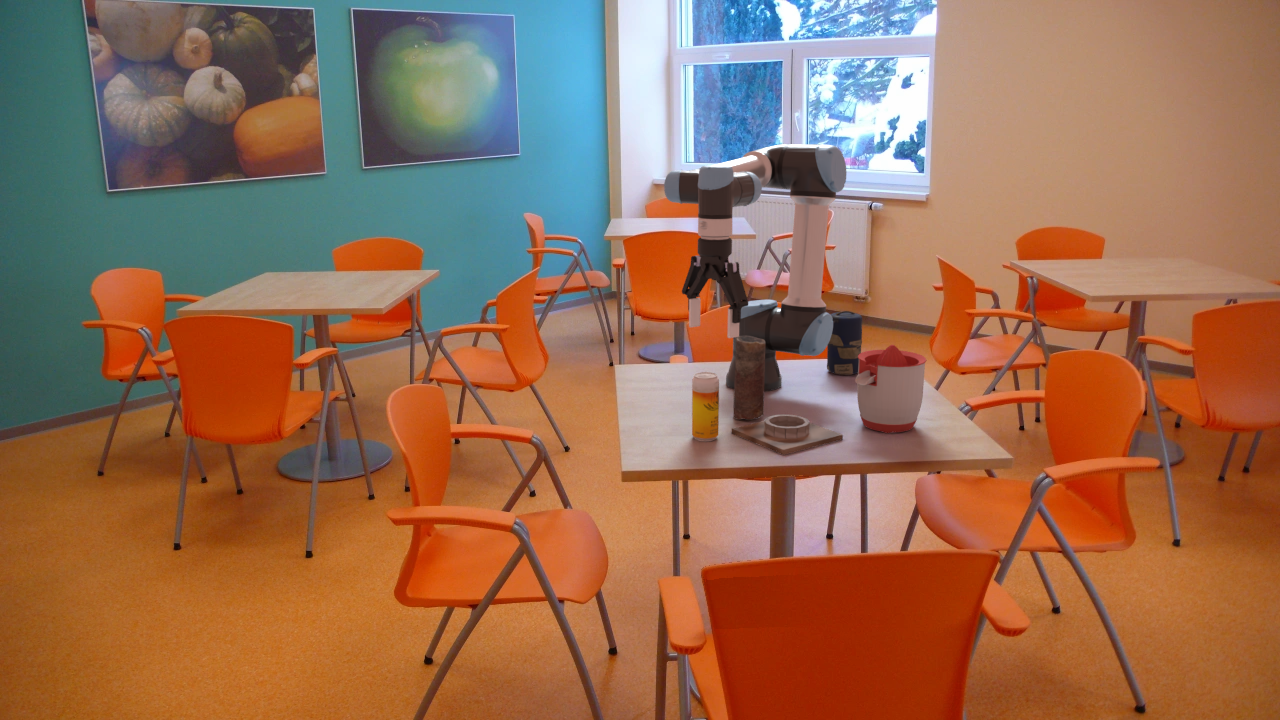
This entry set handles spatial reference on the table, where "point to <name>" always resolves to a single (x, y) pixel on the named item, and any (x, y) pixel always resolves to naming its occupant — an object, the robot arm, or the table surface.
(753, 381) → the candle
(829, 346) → the canister
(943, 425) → the table surface
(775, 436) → the can holder
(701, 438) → the beer can
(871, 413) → the citrus juicer
